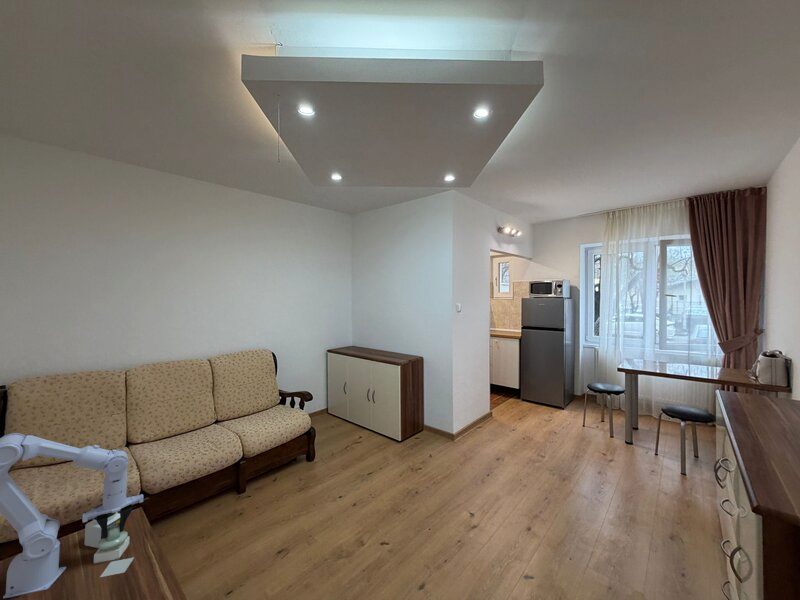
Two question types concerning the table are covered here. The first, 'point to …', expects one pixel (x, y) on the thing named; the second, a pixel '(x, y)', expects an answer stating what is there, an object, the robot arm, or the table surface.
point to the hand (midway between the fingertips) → (113, 533)
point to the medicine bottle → (99, 529)
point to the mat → (117, 567)
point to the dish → (111, 552)
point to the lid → (112, 537)
